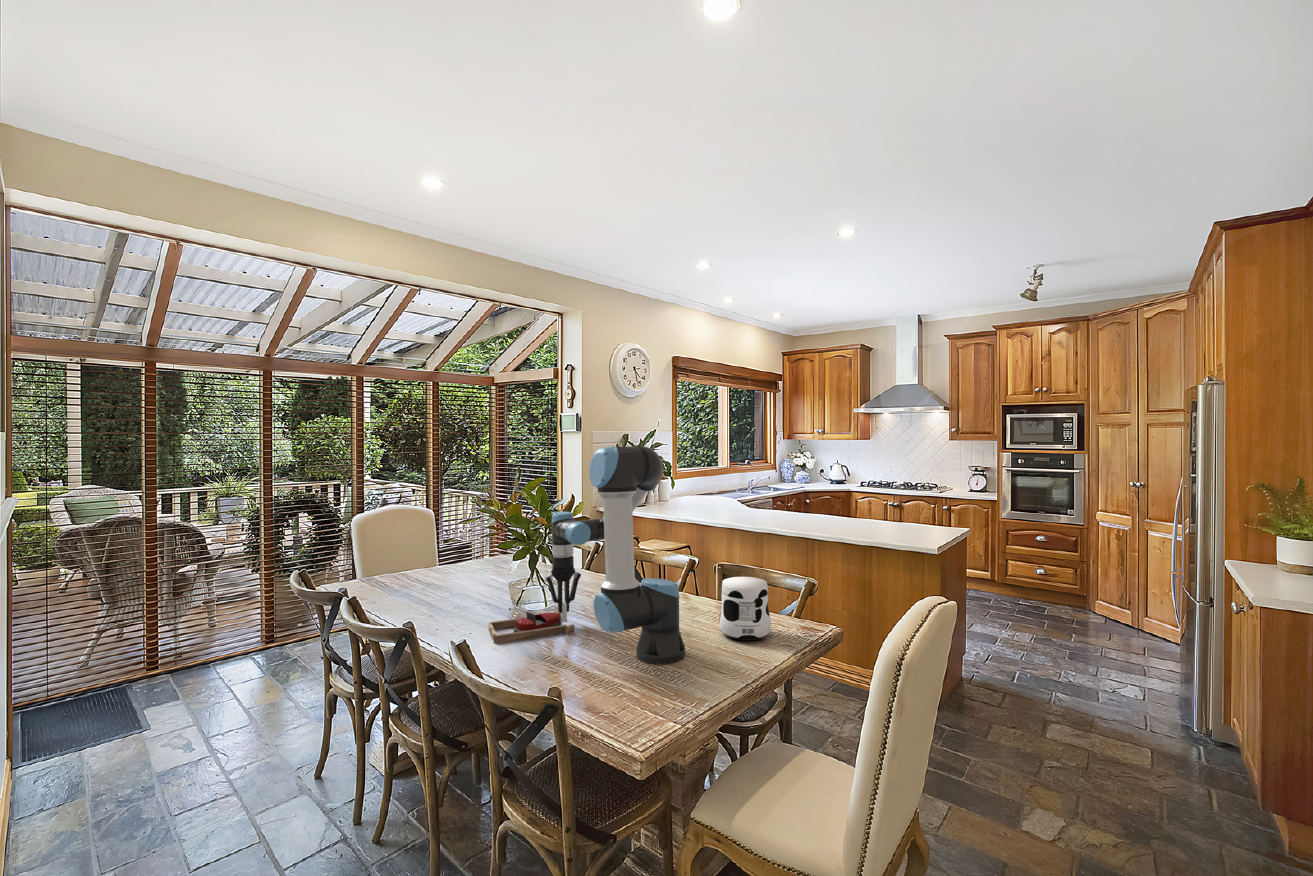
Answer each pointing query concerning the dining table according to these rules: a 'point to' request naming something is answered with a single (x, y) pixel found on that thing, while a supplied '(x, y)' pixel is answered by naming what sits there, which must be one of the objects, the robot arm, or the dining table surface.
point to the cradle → (525, 634)
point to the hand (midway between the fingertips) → (563, 621)
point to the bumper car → (536, 621)
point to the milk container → (745, 608)
